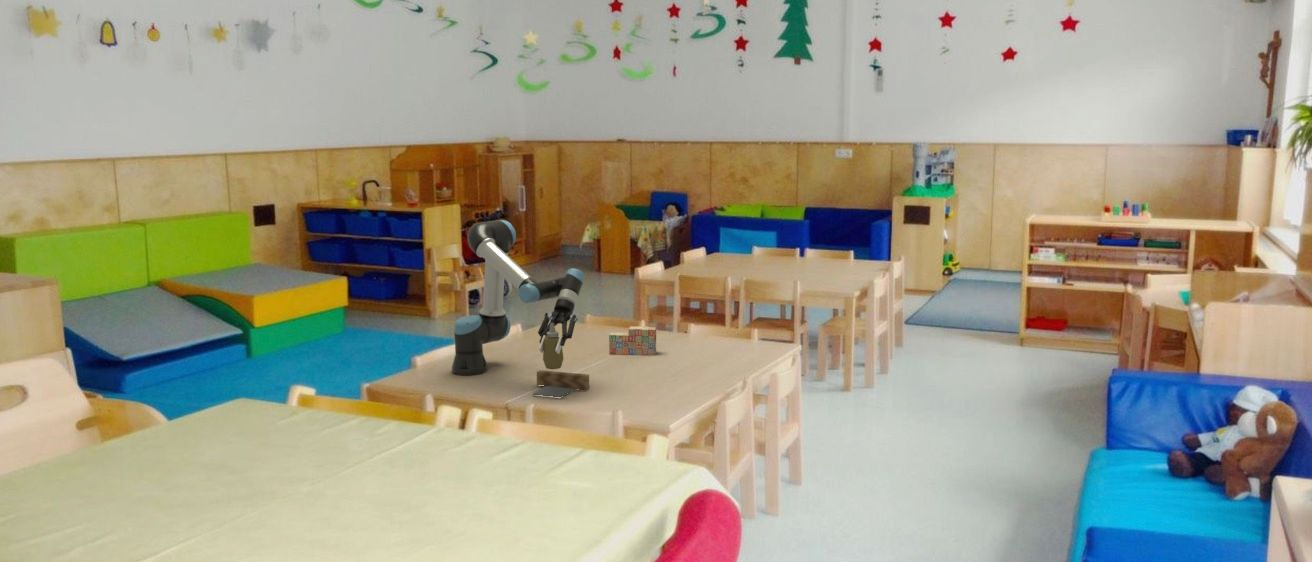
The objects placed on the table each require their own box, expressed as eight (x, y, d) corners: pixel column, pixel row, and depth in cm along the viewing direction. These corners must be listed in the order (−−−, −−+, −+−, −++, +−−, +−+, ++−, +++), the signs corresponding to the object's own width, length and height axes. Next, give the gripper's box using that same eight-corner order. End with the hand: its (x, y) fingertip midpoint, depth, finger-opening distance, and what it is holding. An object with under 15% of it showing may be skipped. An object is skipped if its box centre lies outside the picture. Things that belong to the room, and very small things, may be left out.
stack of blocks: (609, 354, 451) (608, 328, 449) (611, 351, 457) (610, 325, 455) (655, 355, 448) (654, 329, 446) (656, 352, 454) (656, 326, 452)
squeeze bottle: (554, 371, 379) (552, 326, 376) (538, 368, 384) (537, 323, 381) (568, 367, 385) (566, 322, 382) (553, 364, 390) (551, 320, 387)
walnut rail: (589, 389, 392) (589, 374, 391) (586, 391, 389) (586, 376, 388) (540, 384, 400) (539, 370, 399) (536, 386, 397) (536, 371, 396)
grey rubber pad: (560, 398, 379) (560, 396, 379) (532, 396, 383) (532, 393, 383) (573, 390, 390) (573, 388, 390) (546, 388, 394) (546, 385, 394)
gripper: (590, 309, 392) (574, 358, 379) (547, 307, 399) (530, 354, 386) (585, 299, 386) (568, 348, 374) (541, 296, 393) (523, 344, 380)
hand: (548, 351), depth 380 cm, fingers closed on squeeze bottle, 6 cm apart
